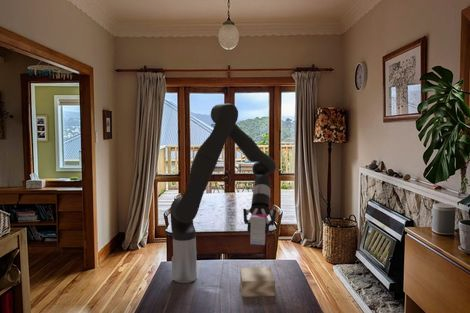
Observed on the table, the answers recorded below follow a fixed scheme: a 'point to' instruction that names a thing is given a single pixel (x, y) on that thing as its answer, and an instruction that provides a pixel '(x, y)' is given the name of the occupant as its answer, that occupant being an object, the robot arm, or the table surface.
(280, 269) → the table surface
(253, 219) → the supplement box
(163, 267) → the table surface
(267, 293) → the birch block
